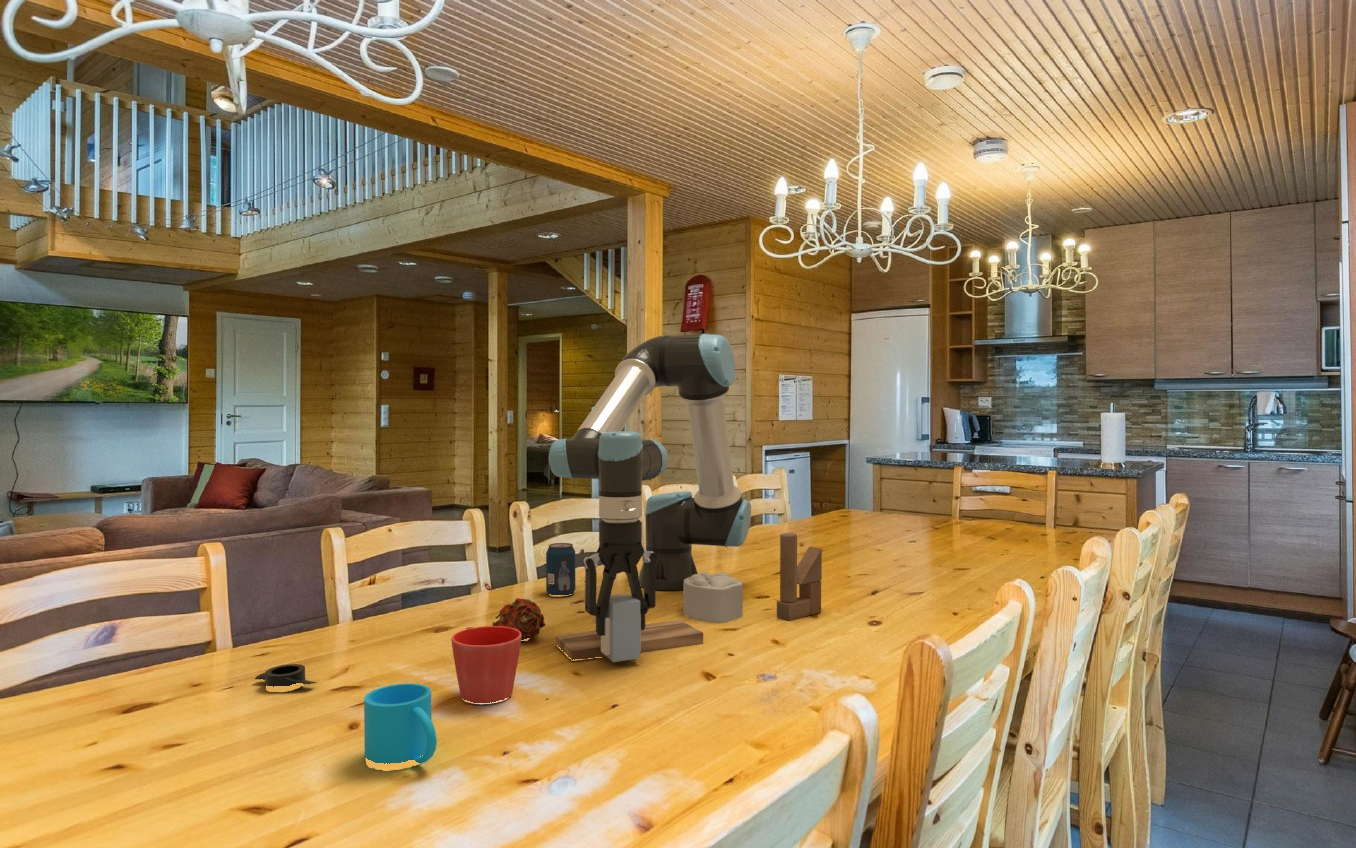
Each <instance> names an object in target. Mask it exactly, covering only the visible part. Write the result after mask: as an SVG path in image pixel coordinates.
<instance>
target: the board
mask: <svg viewBox="0 0 1356 848" xmlns="http://www.w3.org/2000/svg"><path fill="white" fill-rule="evenodd" d="M699 644H704V632H703V631H701V630H699V629H698V628H695V627H694V626H691V624H688V623H687V622H685V621H683V620H682V619H677V620H669V621H662V622H655V623H648V624H647V623H645V629H644V630H641V651H640V653H644V652H645V653H646V652H651V651H652V650H653V651H660V650H666V649H672V648H679V647H686V646H693V645H699ZM556 645H558V647H560V648H561V650H563V652H565V653H566V654H567V655H568V657H570V658H571V659H572V660H573V659H574V660H575V659H588V658H595V657H605V658H608V657H607V656H605V655H604V654H603V653H602V652H601V636H599V635H598V634H597V633H596V630H593V631H585V632H576V633H569V634H563V635H556V636H555V646H556Z"/></svg>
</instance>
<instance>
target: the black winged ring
mask: <svg viewBox="0 0 1356 848" xmlns="http://www.w3.org/2000/svg"><path fill="white" fill-rule="evenodd" d="M261 679H263V681H264V683H265V684H266V685H267V686H273V687H274V686H290V685H292V684H296V683H303V684H305V685H311V684H316V683H317V682H315V681H311V680H307V679H306V666H305V665H303V664H300V663H299V664H298V663H291V664H289V663H288V664H282V665H277V666H274V667H270V668H269V669H266V670H265V672H263V673H260V674H258V675H257V676H256V677H254V680H261ZM265 684H264V685H265Z"/></svg>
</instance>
